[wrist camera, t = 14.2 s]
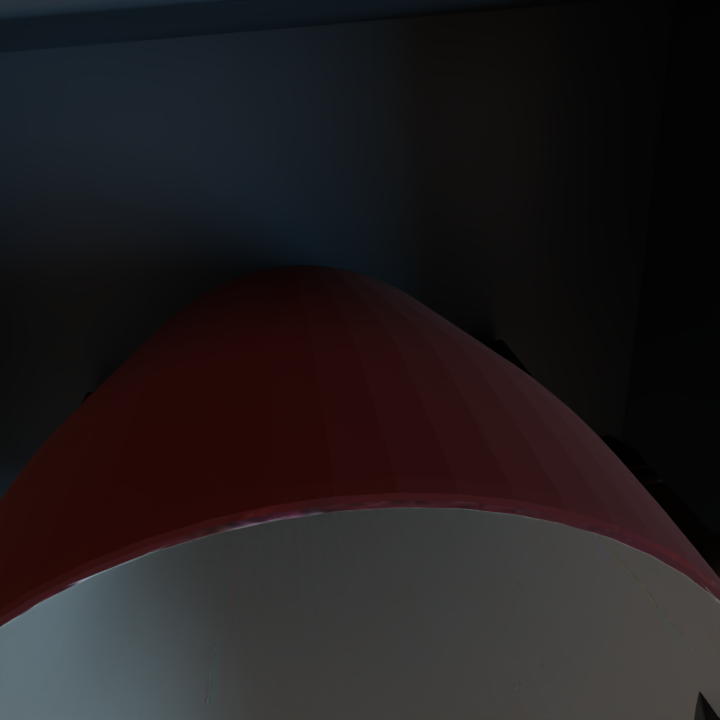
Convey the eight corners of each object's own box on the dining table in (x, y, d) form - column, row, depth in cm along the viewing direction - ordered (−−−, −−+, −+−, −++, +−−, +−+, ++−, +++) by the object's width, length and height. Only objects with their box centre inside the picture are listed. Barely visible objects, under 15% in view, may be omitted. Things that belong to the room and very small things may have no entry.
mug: (524, 511, 17) (803, 997, 8) (249, 613, 18) (236, 1192, 9) (410, 125, 13) (771, 299, 4) (36, 272, 13) (-488, 773, 4)
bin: (703, -54, 12) (1226, -186, 6) (615, 602, 20) (790, 881, 13) (-255, 24, 11) (-1102, -29, 4) (45, 694, 19) (-84, 1056, 12)
